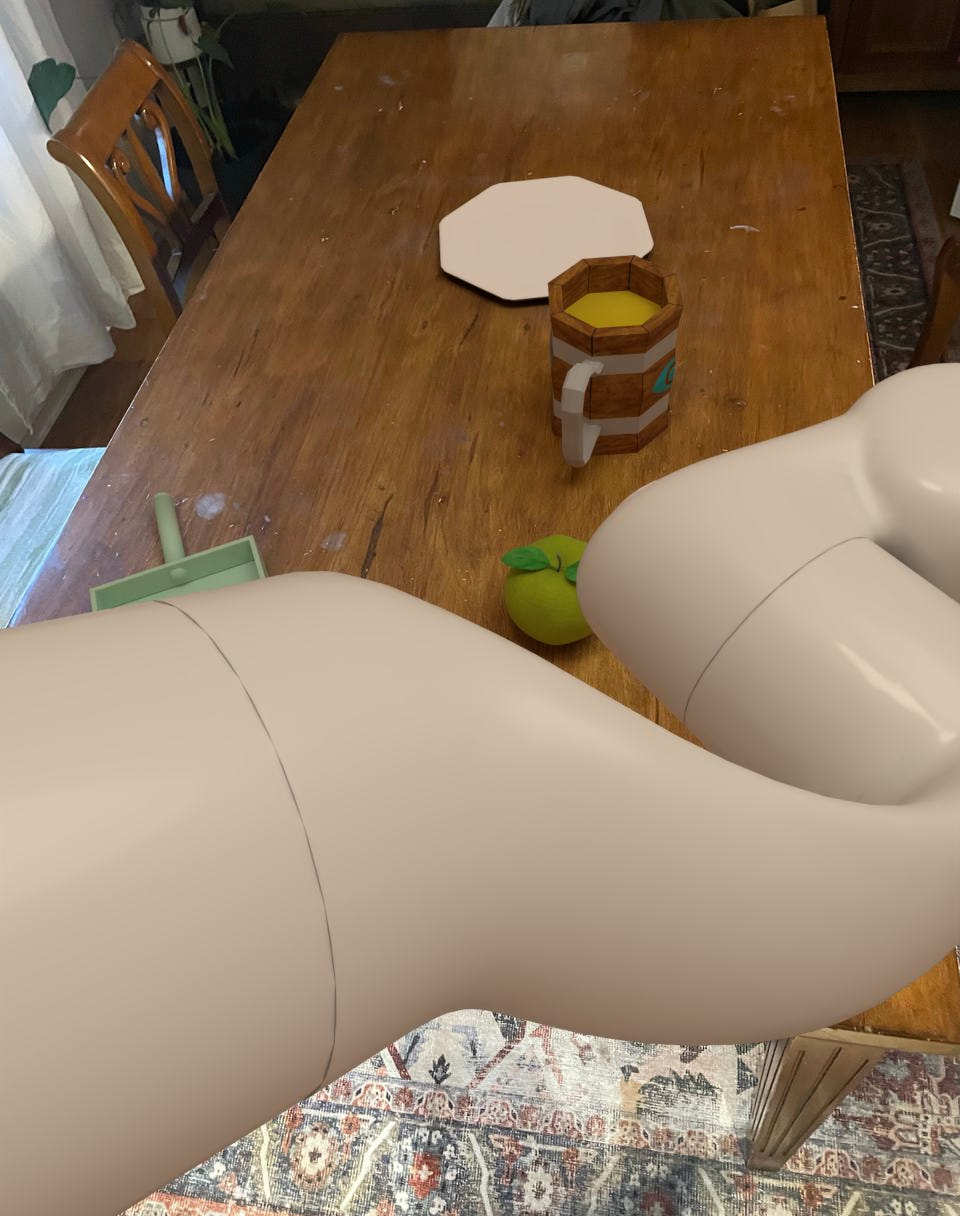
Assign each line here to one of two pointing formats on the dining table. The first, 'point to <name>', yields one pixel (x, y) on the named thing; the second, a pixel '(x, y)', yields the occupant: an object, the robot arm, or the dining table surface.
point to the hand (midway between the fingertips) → (779, 811)
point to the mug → (611, 354)
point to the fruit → (546, 589)
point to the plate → (538, 233)
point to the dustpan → (182, 566)
